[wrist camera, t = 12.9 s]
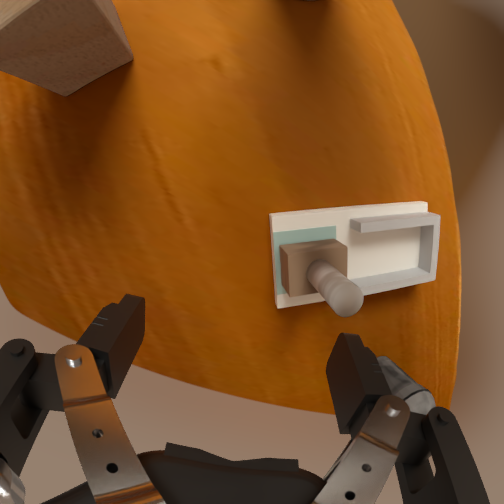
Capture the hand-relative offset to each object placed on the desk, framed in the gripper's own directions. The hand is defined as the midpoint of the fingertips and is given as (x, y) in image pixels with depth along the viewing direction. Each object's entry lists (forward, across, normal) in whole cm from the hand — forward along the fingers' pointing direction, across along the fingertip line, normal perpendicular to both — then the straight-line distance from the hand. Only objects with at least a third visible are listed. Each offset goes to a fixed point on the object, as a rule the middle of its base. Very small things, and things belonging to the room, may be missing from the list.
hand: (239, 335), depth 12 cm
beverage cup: (+27, -26, +24) cm, 45 cm away
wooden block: (+25, +24, -16) cm, 39 cm away
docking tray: (+28, -15, +4) cm, 32 cm away
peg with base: (+25, -8, +6) cm, 27 cm away
